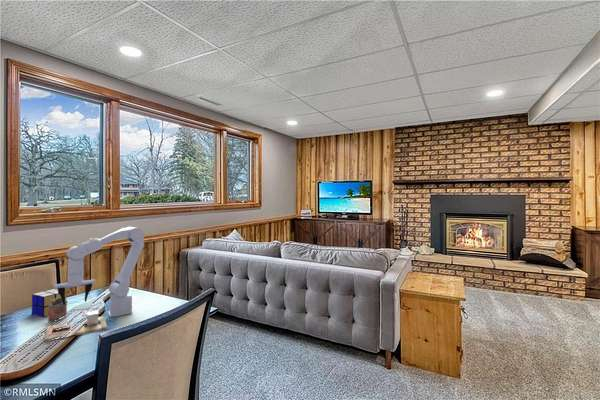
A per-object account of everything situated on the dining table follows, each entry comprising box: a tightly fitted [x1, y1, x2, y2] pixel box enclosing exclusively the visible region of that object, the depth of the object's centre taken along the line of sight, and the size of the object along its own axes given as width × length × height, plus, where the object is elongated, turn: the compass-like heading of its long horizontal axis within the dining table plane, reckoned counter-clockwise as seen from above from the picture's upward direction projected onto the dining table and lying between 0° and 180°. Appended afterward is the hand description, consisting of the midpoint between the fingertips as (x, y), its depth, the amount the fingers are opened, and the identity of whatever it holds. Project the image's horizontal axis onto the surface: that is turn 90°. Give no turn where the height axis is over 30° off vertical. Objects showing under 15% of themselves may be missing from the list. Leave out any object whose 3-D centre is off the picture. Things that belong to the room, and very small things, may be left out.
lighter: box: [48, 296, 68, 323], centre depth 139 cm, size 8×3×10 cm, turn 168°
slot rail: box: [43, 315, 108, 342], centre depth 129 cm, size 21×15×1 cm
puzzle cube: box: [31, 288, 67, 318], centre depth 147 cm, size 10×10×10 cm
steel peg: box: [86, 310, 99, 327], centre depth 132 cm, size 4×4×6 cm
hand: (75, 302), depth 133 cm, fingers open, 7 cm apart
